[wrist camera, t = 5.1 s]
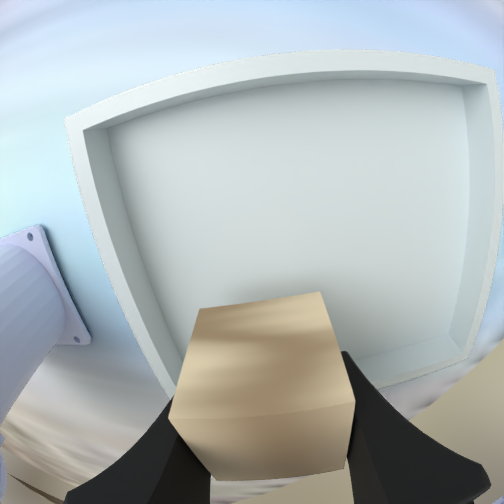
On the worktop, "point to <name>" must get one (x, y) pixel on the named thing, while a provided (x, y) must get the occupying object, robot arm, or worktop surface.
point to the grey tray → (302, 200)
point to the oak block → (265, 391)
